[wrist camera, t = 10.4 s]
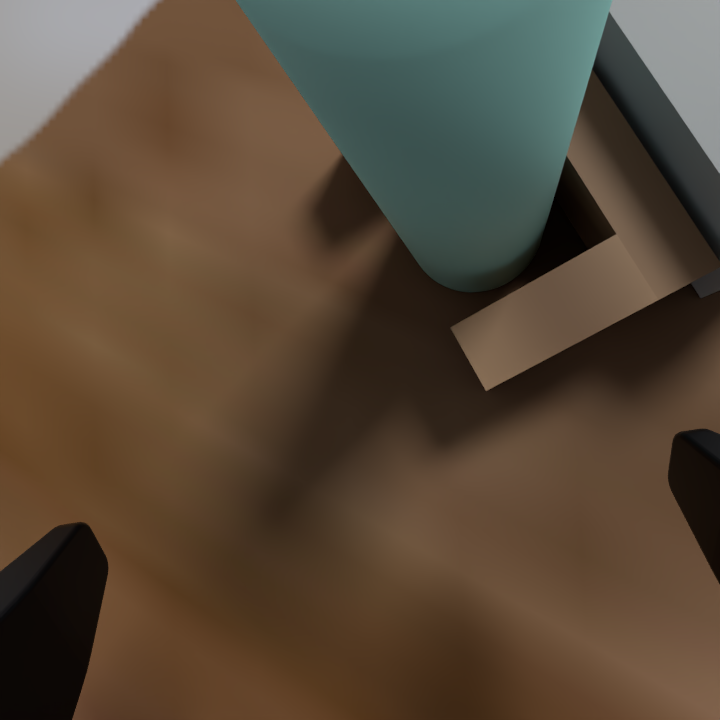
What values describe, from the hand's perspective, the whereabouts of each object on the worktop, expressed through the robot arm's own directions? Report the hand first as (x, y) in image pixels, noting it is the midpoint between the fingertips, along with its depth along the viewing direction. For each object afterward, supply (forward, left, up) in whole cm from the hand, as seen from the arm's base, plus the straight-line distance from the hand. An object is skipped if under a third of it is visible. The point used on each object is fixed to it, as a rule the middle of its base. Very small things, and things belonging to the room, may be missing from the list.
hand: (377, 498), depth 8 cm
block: (+1, -7, -9) cm, 11 cm away
